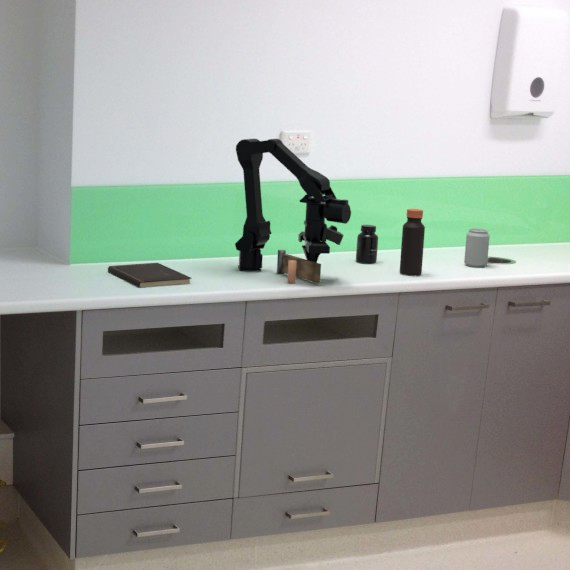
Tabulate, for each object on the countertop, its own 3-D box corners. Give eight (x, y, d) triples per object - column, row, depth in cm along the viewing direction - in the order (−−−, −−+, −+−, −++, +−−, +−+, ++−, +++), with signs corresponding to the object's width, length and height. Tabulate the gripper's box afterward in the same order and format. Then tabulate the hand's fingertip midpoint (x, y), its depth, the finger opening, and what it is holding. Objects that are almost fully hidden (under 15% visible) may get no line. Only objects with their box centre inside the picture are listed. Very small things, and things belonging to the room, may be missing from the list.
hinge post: (277, 273, 322) (278, 251, 321) (276, 272, 325) (277, 249, 323) (285, 274, 323) (286, 251, 321) (284, 272, 325) (285, 249, 324)
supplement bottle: (375, 264, 344) (377, 228, 341) (354, 263, 345) (356, 226, 343) (377, 261, 350) (380, 224, 348) (357, 259, 352) (359, 223, 349)
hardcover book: (157, 270, 323) (157, 262, 322) (191, 285, 304) (191, 277, 303) (107, 273, 315) (107, 266, 314) (139, 289, 295) (139, 281, 295)
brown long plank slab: (281, 272, 322) (282, 254, 321) (286, 272, 323) (287, 254, 322) (315, 283, 309) (316, 264, 308) (320, 282, 310) (321, 263, 309)
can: (461, 266, 348) (464, 229, 346) (466, 262, 355) (469, 226, 353) (484, 268, 346) (487, 232, 343) (489, 265, 353) (492, 229, 350)
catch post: (288, 283, 310) (289, 261, 308) (286, 281, 312) (287, 259, 311) (296, 283, 310) (297, 261, 309) (294, 281, 312) (296, 260, 311)
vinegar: (408, 270, 337) (413, 207, 332) (425, 274, 332) (430, 210, 328) (395, 273, 332) (399, 209, 328) (412, 277, 327) (416, 212, 323)
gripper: (348, 225, 305) (345, 278, 309) (335, 213, 323) (332, 264, 327) (310, 224, 303) (307, 278, 307) (299, 213, 321) (296, 263, 325)
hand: (312, 270), depth 317 cm, fingers closed
